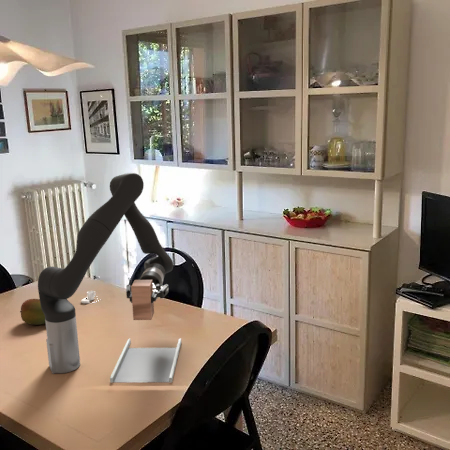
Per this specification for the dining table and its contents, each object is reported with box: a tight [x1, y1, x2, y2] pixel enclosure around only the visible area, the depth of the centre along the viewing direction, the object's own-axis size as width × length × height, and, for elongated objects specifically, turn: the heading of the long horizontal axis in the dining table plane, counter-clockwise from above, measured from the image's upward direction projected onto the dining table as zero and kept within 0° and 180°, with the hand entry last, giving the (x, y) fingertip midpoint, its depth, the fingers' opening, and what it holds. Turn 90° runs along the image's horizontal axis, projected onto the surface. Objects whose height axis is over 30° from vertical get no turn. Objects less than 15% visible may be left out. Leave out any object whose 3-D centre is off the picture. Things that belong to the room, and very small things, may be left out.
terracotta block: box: [130, 279, 155, 321], centre depth 155 cm, size 6×6×11 cm
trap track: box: [109, 338, 182, 384], centre depth 163 cm, size 26×19×2 cm
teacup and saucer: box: [80, 290, 100, 304], centre depth 218 cm, size 9×8×4 cm
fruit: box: [19, 298, 46, 326], centre depth 194 cm, size 12×13×10 cm
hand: (142, 300), depth 153 cm, fingers closed on terracotta block, 5 cm apart
